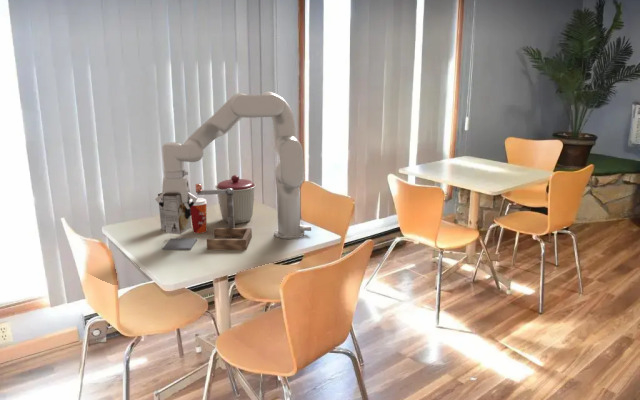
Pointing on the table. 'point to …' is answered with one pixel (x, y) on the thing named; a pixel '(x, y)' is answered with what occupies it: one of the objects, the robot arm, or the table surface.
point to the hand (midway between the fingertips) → (177, 217)
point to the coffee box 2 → (175, 214)
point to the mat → (180, 244)
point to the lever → (212, 191)
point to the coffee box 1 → (162, 215)
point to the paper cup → (199, 215)
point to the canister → (237, 198)
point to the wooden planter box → (230, 233)
